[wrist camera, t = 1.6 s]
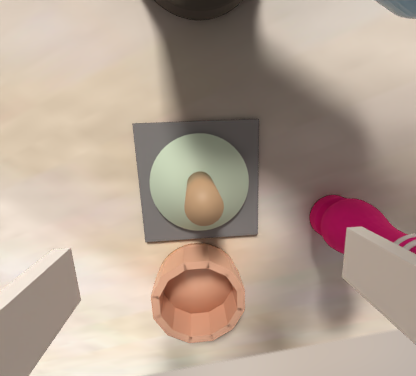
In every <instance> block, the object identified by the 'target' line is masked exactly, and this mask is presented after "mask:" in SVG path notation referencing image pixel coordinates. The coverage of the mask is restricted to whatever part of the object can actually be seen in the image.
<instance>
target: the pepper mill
mask: <svg viewBox="0 0 416 376" xmlns="http://www.w3.org/2000/svg"><path fill="white" fill-rule="evenodd" d="M310 223H311V226H312V228H313V229H314V230H315V231H316V232H317V233H319V234H320V235H322V236H323V238H324V240H325V242H326V243H327V244H328V245H329V246H330V247H332V248H333V249H335V250H336V251H338V252H340V253H343V254H344V250H345V240H346V229H347V227H361V226H362V227H364V228H366V229H367V230H369V231H371V232H373V233H375V234H377V235H379V236H381V237H383V238H385V239H387V240H389V241H391V242H393V243H395V244H397V245H399V246H401V247H403V248H405V249H407V250H409V251H411V252H413V253H415V254H416V234H405V233H403V232H401V231H399V230H397V229H396V228H395V227H393V226H392V225H391V224H390V223H389V221H388V220H387V219H386V218H385V216H384V215H383V214H382V213H381V212H380V211H379V210H378V209H376V208H375V207H374V206H373V205H371V204H369V203H367V202H365V201H362V200H359V199H346V198H344V197H341V196H338V195H329V196H325V197H323V198H321V199H320V200H318V201H317V202H316V203H315V204H314V206H313V208H312V210H311V213H310Z"/></svg>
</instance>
